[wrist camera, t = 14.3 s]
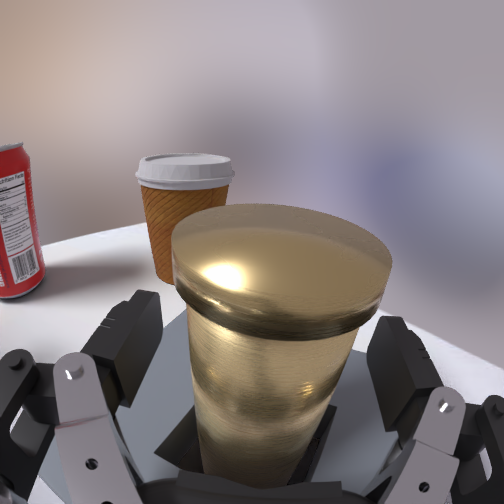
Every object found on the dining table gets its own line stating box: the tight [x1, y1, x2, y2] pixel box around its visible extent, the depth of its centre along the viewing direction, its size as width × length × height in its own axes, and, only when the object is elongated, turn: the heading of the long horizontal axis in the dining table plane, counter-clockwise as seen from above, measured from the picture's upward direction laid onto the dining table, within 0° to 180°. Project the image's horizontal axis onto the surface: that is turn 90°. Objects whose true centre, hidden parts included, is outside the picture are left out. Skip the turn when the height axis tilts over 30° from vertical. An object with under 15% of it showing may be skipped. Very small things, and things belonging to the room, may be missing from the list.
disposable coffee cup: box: [136, 153, 235, 285], centre depth 29 cm, size 10×10×12 cm
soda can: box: [0, 142, 46, 298], centre depth 21 cm, size 8×8×15 cm
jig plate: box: [38, 309, 398, 504], centre depth 12 cm, size 16×16×4 cm
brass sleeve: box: [171, 204, 392, 490], centre depth 10 cm, size 5×5×13 cm
